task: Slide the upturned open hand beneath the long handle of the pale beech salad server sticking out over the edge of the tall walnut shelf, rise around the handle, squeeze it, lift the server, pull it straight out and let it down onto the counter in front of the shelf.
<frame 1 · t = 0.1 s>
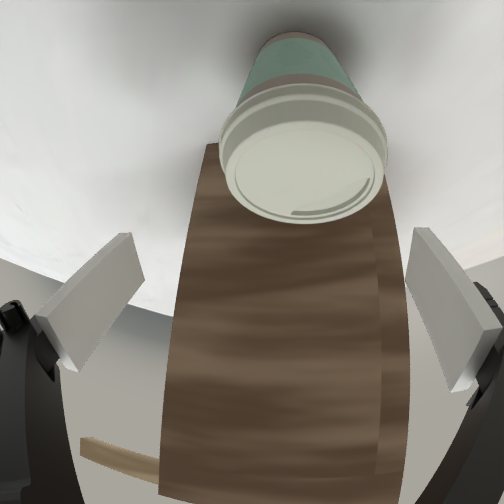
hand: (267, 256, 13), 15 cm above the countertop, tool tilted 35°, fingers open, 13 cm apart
walnut shelf: (294, 190, 33), on the countertop
salad server: (205, 472, 21), point 30 cm above the countertop, touching walnut shelf
coffee cup: (296, 62, 19), on the countertop
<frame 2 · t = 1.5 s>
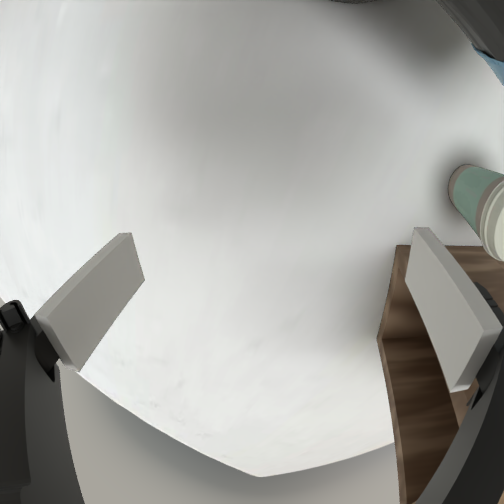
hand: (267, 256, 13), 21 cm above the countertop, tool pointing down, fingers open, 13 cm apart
walnut shelf: (436, 295, 36), on the countertop
coffee cup: (465, 187, 28), on the countertop
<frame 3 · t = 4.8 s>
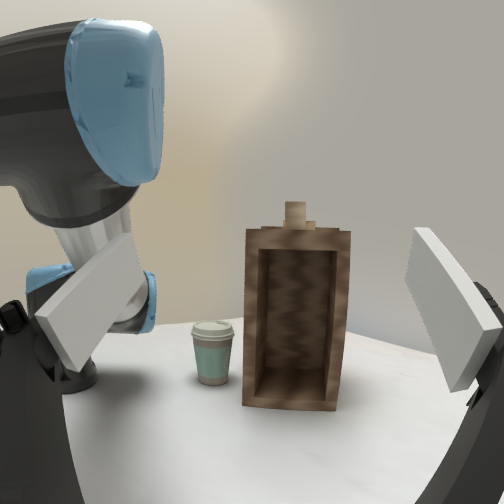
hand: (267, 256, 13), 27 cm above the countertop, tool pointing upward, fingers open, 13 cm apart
walnut shelf: (291, 389, 53), on the countertop
salad server: (298, 230, 45), point 30 cm above the countertop, touching walnut shelf
coffee cup: (213, 380, 57), on the countertop
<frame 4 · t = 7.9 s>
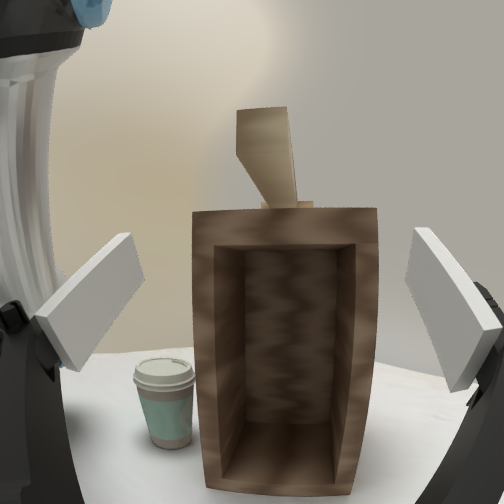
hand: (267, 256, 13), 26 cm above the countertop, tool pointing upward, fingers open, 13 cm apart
walnut shelf: (283, 456, 31), on the countertop
salad server: (284, 210, 26), point 30 cm above the countertop, touching walnut shelf
coffee cup: (171, 439, 35), on the countertop
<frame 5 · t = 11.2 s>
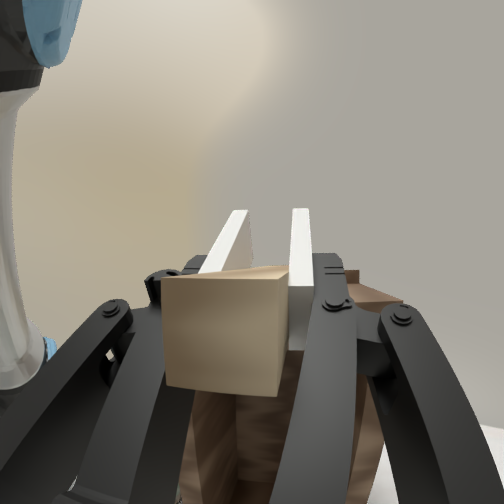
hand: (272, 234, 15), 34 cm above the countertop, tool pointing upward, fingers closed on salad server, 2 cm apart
salad server: (278, 300, 19), point 30 cm above the countertop, touching gripper
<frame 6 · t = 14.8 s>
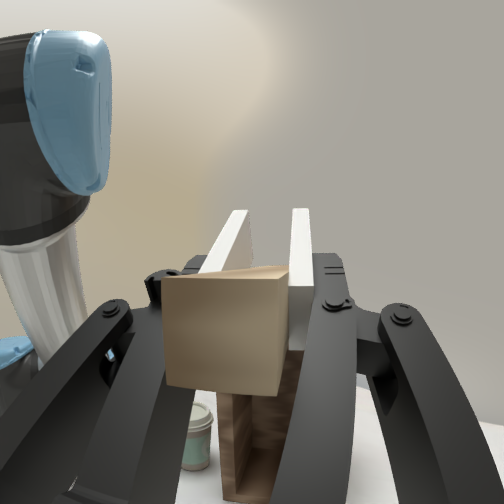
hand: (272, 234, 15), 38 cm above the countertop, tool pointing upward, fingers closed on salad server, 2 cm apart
walnut shelf: (280, 476, 39), on the countertop
salad server: (279, 300, 19), point 34 cm above the countertop, touching gripper
coffee cup: (193, 462, 43), on the countertop
when the fingers open (26 cm above the countertop, at t = 18.4 s): salad server drops 22 cm, on the countertop.
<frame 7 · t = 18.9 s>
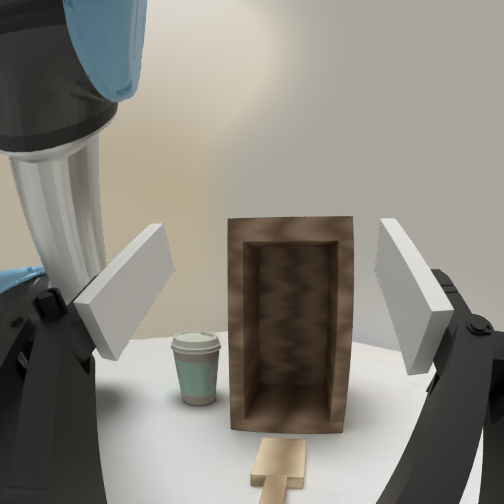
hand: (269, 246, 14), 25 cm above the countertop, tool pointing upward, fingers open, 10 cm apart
walnut shelf: (289, 408, 44), on the countertop
coffee cup: (199, 399, 48), on the countertop
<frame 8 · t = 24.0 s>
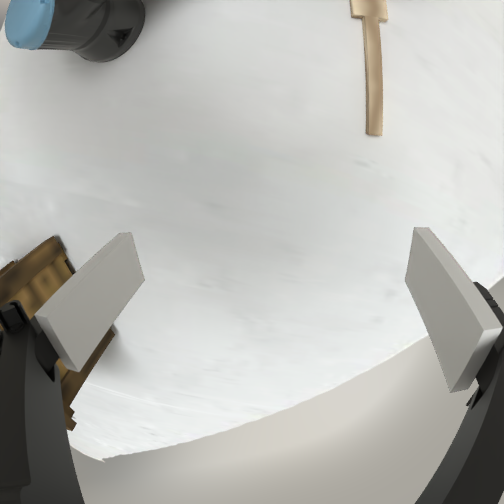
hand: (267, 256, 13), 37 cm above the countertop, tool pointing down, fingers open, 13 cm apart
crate: (58, 292, 71), on the countertop
salad server: (371, 51, 35), on the countertop
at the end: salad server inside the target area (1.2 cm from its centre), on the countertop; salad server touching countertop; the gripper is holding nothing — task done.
